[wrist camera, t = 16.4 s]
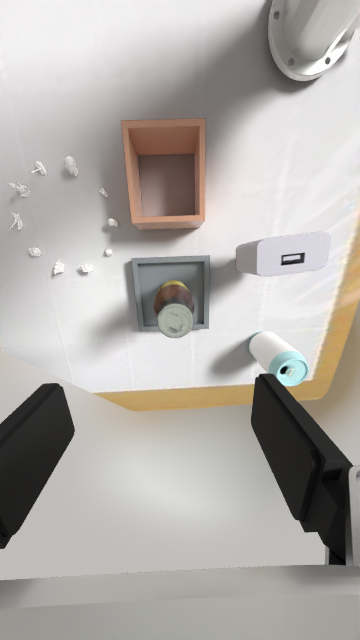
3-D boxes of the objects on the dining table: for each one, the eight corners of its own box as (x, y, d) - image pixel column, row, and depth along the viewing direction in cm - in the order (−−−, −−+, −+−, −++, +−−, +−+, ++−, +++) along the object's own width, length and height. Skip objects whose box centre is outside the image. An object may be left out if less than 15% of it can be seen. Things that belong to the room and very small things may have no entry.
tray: (207, 255, 37) (209, 255, 35) (206, 324, 42) (208, 328, 40) (134, 258, 37) (131, 258, 35) (141, 327, 42) (139, 331, 40)
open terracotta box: (199, 147, 32) (205, 118, 25) (199, 227, 36) (204, 220, 29) (132, 149, 32) (121, 120, 25) (139, 229, 36) (131, 223, 29)
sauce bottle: (172, 314, 40) (170, 362, 21) (152, 293, 39) (130, 324, 20) (195, 293, 39) (213, 325, 20) (175, 271, 37) (175, 283, 18)
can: (252, 360, 45) (277, 394, 34) (244, 336, 43) (269, 364, 32) (280, 350, 45) (315, 382, 33) (273, 325, 43) (309, 350, 31)
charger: (270, 266, 38) (326, 269, 24) (226, 271, 39) (256, 277, 24) (271, 241, 37) (332, 230, 23) (226, 247, 37) (257, 239, 23)
